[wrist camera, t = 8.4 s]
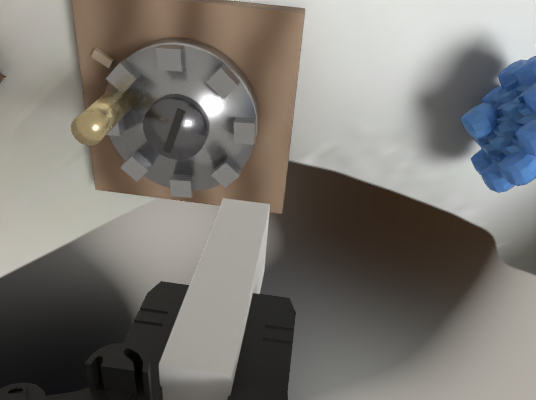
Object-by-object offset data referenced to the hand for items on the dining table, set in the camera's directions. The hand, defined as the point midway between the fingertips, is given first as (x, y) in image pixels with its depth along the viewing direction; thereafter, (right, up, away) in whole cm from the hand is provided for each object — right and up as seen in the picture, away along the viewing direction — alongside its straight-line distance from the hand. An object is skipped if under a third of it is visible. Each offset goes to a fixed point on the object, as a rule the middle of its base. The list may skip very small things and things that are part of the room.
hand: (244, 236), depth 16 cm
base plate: (-7, +10, +32) cm, 35 cm away
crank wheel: (-7, +9, +30) cm, 33 cm away
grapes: (+20, +11, +29) cm, 37 cm away
